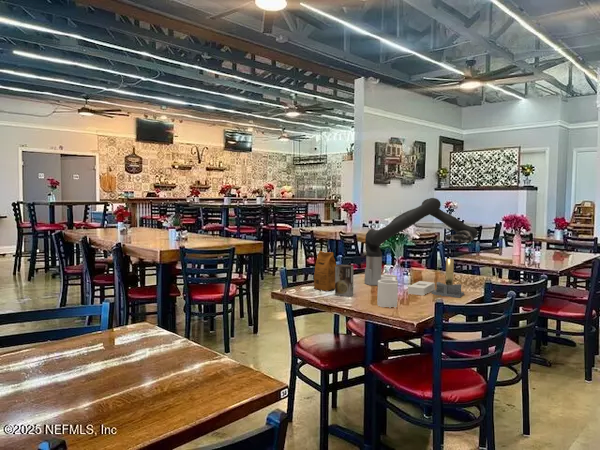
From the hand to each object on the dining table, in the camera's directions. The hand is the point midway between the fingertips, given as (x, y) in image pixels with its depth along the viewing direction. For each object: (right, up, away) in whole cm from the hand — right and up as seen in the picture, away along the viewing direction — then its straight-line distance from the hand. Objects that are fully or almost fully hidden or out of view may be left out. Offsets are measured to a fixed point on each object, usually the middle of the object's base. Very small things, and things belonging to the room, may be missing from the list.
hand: (455, 238), depth 261 cm
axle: (-6, -29, -7) cm, 31 cm away
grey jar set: (-45, -32, -29) cm, 62 cm away
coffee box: (-65, -30, -13) cm, 73 cm away
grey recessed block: (-20, -30, -2) cm, 36 cm away
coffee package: (-75, -29, +2) cm, 81 cm away
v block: (-8, -31, -10) cm, 33 cm away
